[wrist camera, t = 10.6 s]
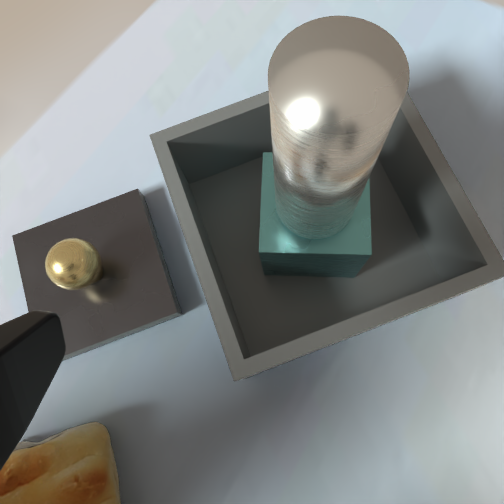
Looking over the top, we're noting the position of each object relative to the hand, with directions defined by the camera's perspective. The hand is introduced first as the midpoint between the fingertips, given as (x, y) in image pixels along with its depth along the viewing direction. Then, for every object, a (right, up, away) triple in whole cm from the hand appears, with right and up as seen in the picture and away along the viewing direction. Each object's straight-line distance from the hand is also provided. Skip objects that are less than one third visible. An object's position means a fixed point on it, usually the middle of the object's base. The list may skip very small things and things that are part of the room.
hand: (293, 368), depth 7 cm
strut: (+2, +3, +14) cm, 14 cm away
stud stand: (-9, +1, +14) cm, 17 cm away
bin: (+2, +3, +14) cm, 15 cm away
